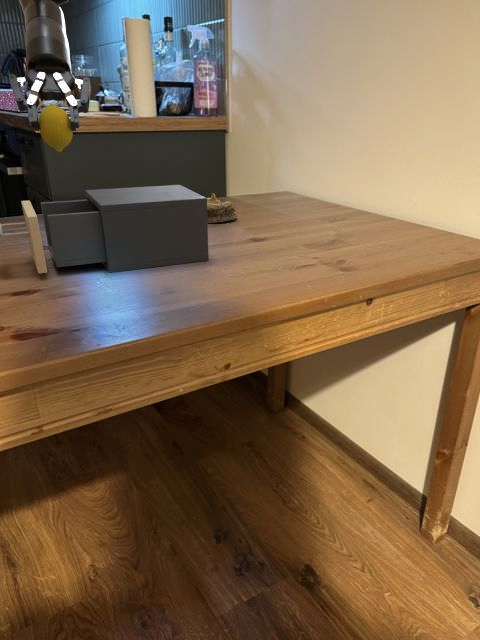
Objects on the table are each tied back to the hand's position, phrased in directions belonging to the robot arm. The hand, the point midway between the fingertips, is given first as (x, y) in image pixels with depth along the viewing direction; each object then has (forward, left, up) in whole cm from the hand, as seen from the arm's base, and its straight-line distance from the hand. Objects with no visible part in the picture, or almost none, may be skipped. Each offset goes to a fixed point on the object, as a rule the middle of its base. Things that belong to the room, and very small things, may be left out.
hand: (55, 127), depth 87 cm
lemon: (0, +2, -4) cm, 5 cm away
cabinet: (+9, -22, -18) cm, 30 cm away
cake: (+29, -1, -18) cm, 34 cm away
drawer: (-3, -22, -17) cm, 28 cm away
